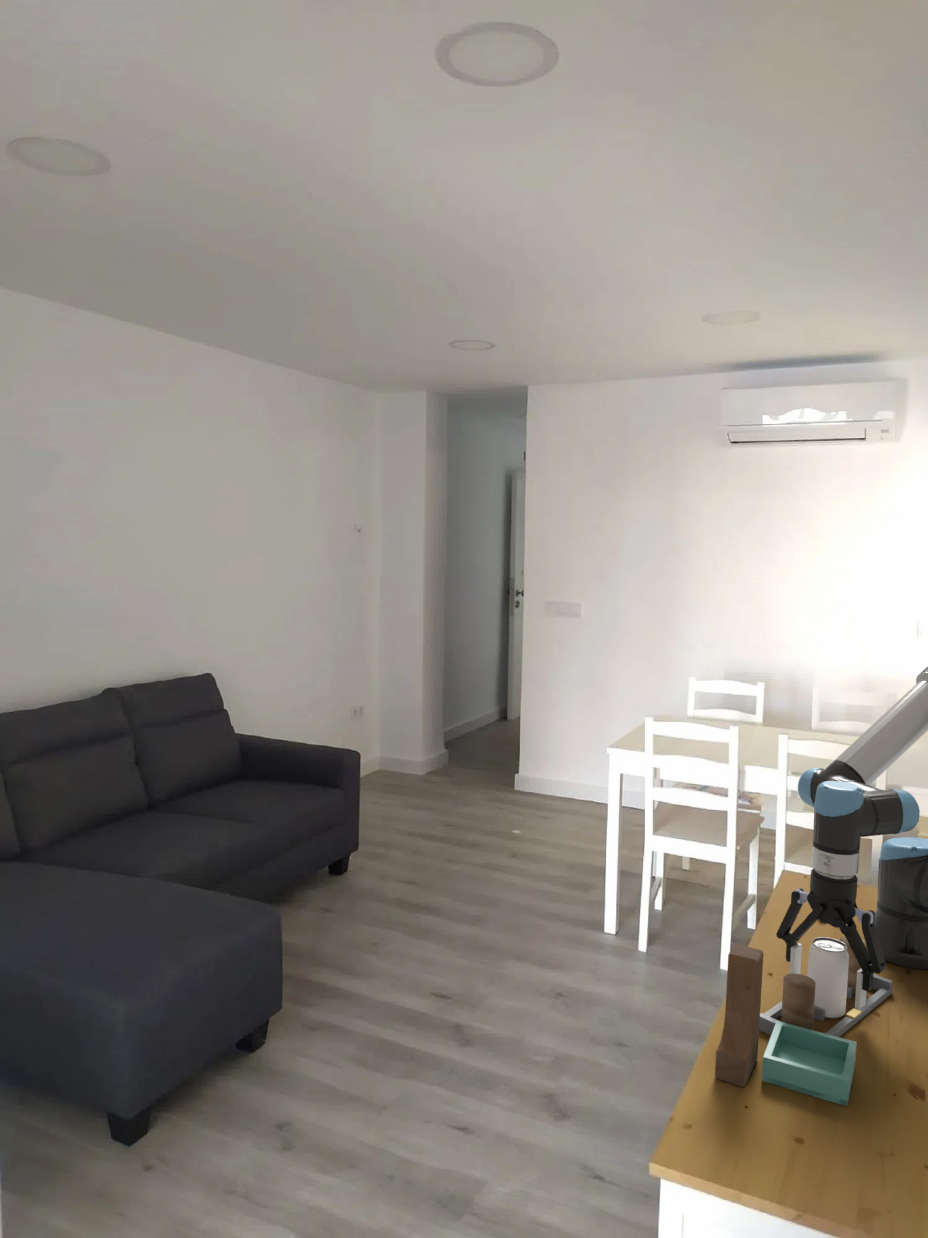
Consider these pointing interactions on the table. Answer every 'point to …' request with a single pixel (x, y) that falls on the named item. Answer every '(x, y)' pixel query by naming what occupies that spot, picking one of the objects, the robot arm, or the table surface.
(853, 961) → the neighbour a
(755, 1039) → the wooden block
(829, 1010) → the can
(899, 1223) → the table surface
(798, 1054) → the tray
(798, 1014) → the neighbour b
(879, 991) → the grey flat open frame
